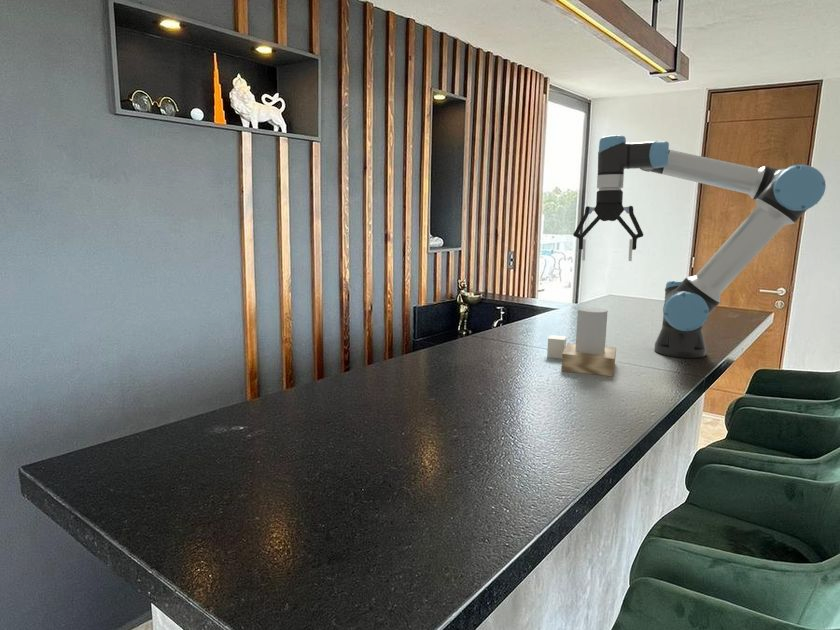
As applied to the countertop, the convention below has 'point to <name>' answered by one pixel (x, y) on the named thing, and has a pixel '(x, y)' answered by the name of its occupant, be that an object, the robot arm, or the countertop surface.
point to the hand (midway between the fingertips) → (606, 260)
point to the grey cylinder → (591, 330)
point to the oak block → (588, 361)
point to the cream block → (556, 346)
